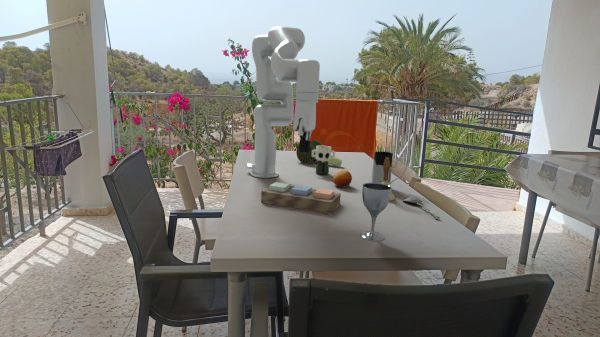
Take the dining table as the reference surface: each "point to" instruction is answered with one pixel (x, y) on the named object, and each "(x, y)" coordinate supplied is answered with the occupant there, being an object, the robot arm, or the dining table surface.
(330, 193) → the terracotta key
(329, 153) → the character mug
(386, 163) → the hand bell
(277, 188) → the sage key
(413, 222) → the dining table surface
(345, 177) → the fruit
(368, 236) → the wine glass
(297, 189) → the slate key
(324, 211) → the key panel
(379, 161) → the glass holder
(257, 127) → the robot arm
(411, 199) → the soupspoon
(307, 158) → the green broccoli
